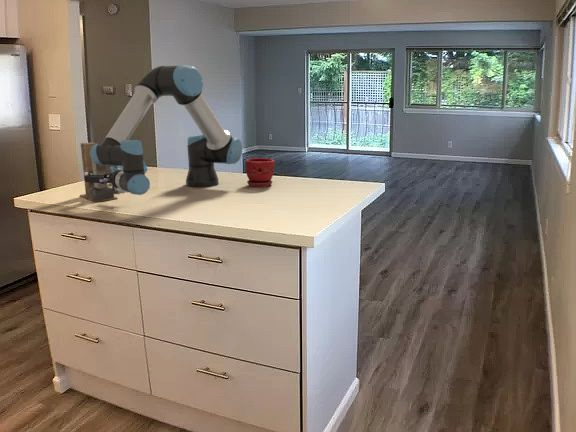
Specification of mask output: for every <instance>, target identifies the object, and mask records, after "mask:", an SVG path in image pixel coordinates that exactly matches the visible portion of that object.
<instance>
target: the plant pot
mask: <svg viewBox="0 0 576 432" xmlns="http://www.w3.org/2000/svg"><path fill="white" fill-rule="evenodd" d="M265 169H266V170H265ZM274 169H275V160H274V159H272V158H247V159H245V172H246V177H247V179H248V180H247V181H246V182H247V185H248V186H251V187H253V188H256V187H257V188H258V187H259V188H261V187H262V188H263V187H264V186H265V187H269V186H271V185H272V183H273V180H272V179H273V175H274V171H275V170H274Z"/></svg>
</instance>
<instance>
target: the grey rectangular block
mask: <svg viewBox="0 0 576 432" xmlns="http://www.w3.org/2000/svg"><path fill="white" fill-rule="evenodd" d="M106 166H107V165H102V164H97V163H95V162H94V161H93V160H92V169H93V175H104V174H107V167H106ZM107 186H108V183H105V182H104V184H100V183H94V189H96V190H101V189H108V188H107Z"/></svg>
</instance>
